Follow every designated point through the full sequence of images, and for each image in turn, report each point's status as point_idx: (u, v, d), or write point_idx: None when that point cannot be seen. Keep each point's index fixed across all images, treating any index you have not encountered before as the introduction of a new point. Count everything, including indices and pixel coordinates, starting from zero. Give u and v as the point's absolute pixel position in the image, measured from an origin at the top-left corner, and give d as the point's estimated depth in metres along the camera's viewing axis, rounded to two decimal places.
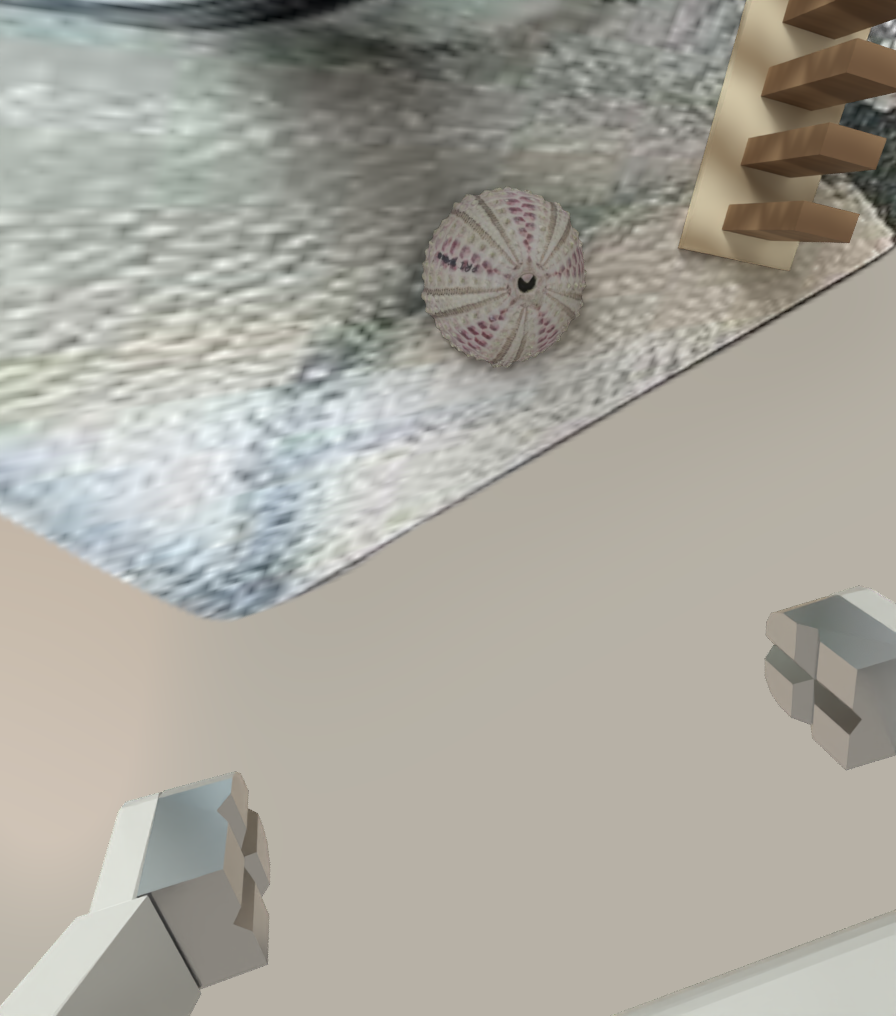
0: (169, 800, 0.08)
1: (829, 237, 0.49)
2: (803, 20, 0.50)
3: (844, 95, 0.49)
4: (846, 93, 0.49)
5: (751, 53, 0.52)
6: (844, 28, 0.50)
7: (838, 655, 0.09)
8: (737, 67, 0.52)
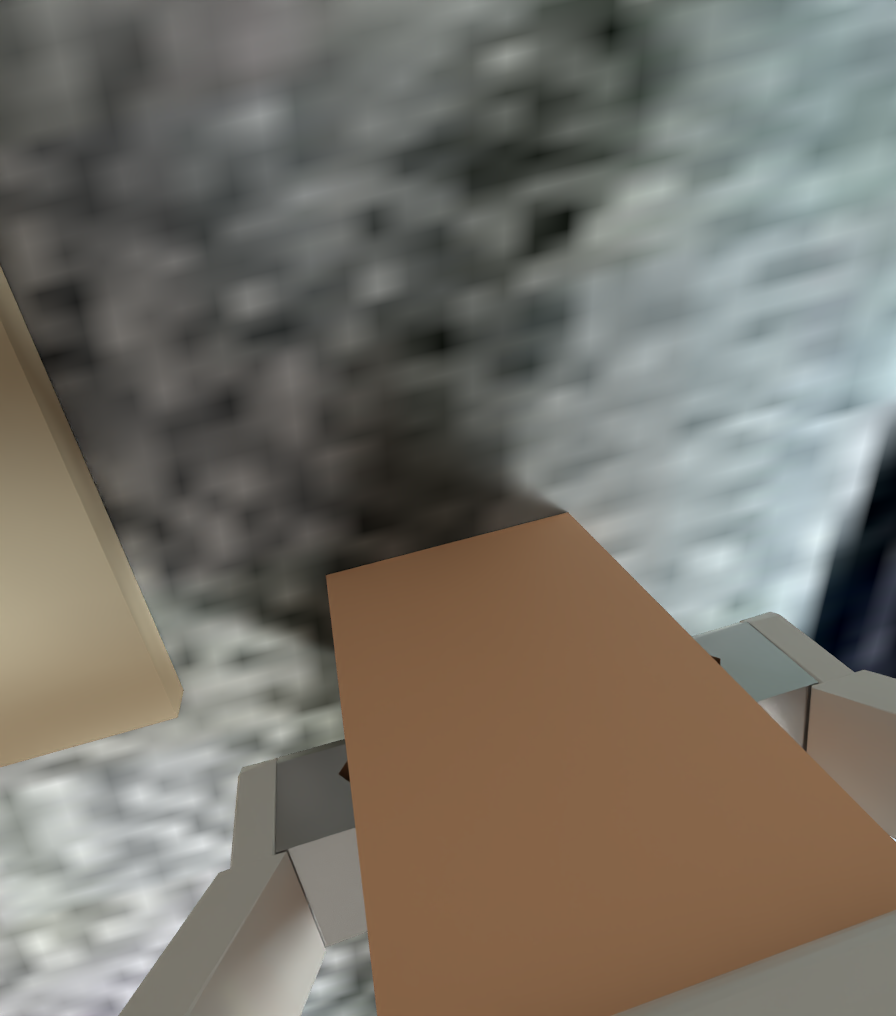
0: (288, 765, 0.09)
1: None
2: None
3: None
4: None
5: None
6: None
7: None
8: None
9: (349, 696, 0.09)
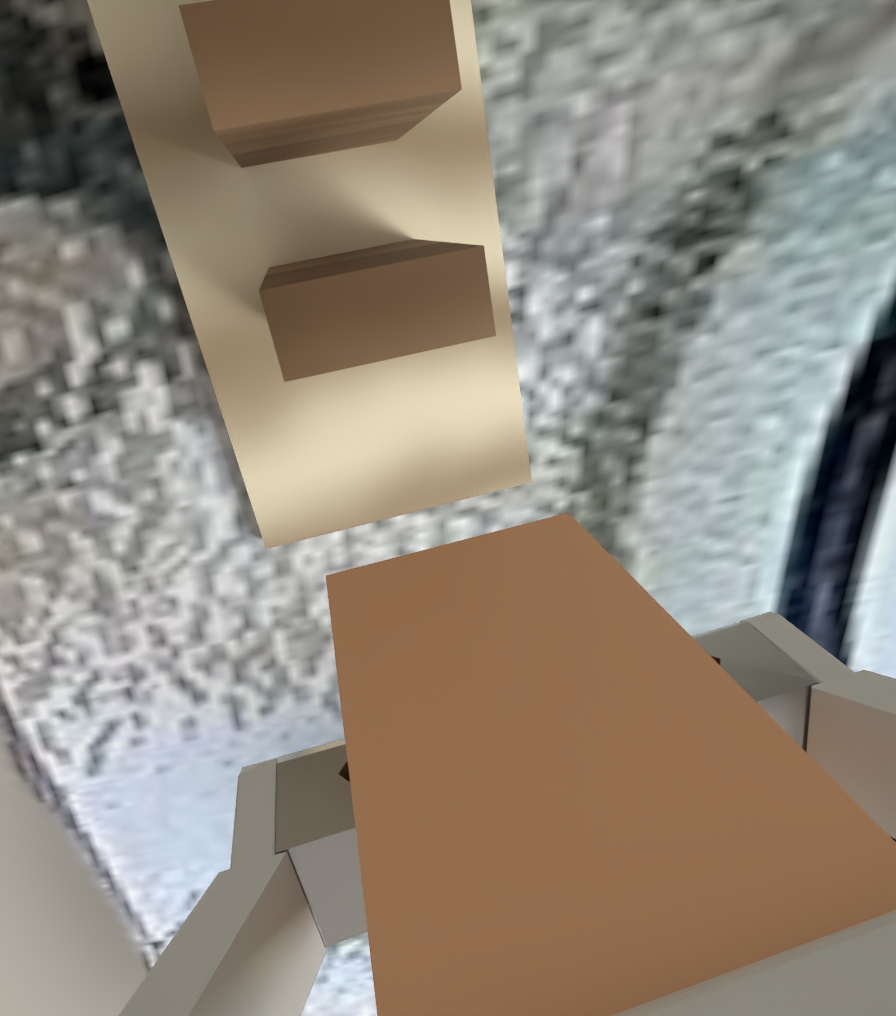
0: (288, 765, 0.09)
1: None
2: (395, 244, 0.21)
3: None
4: None
5: (454, 147, 0.22)
6: (302, 264, 0.20)
7: None
8: (473, 105, 0.22)
9: (349, 697, 0.09)
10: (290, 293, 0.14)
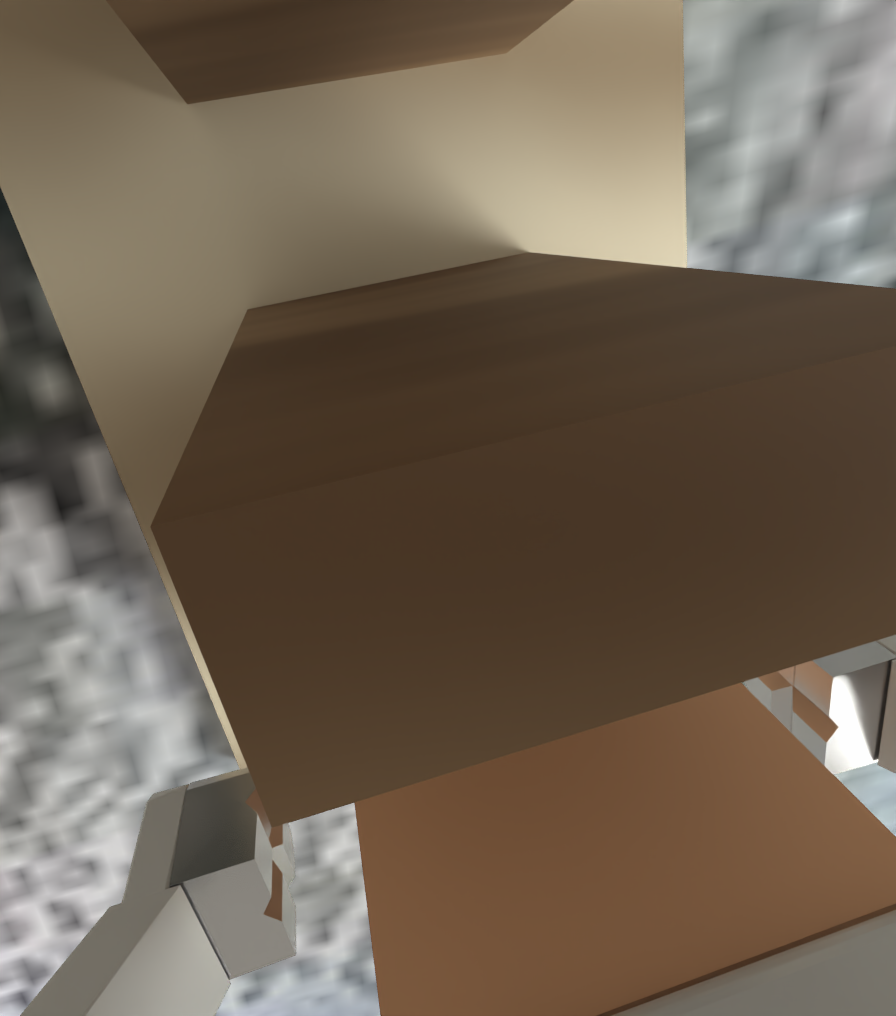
0: (197, 792, 0.08)
1: None
2: (506, 265, 0.10)
3: None
4: None
5: (618, 70, 0.11)
6: (316, 311, 0.09)
7: (815, 662, 0.09)
8: None
9: None
10: (297, 528, 0.03)
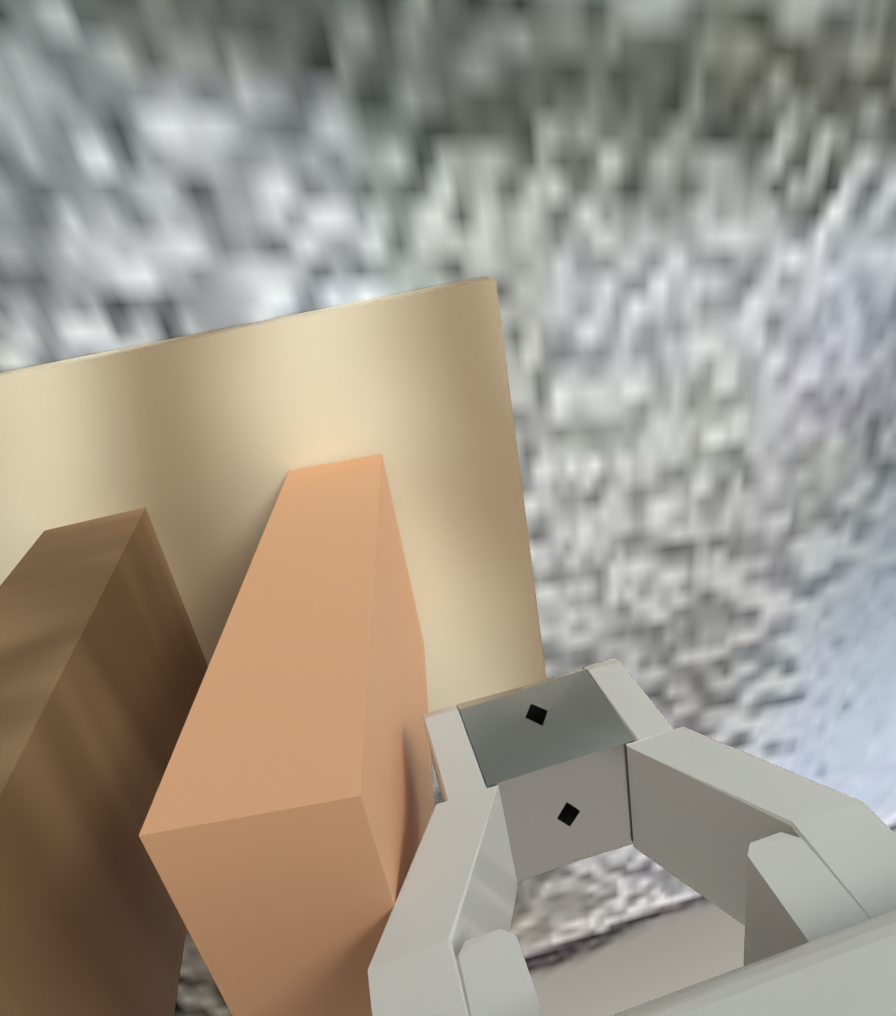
0: (470, 711, 0.09)
1: None
2: None
3: None
4: None
5: None
6: None
7: (554, 743, 0.08)
8: None
9: None
10: None
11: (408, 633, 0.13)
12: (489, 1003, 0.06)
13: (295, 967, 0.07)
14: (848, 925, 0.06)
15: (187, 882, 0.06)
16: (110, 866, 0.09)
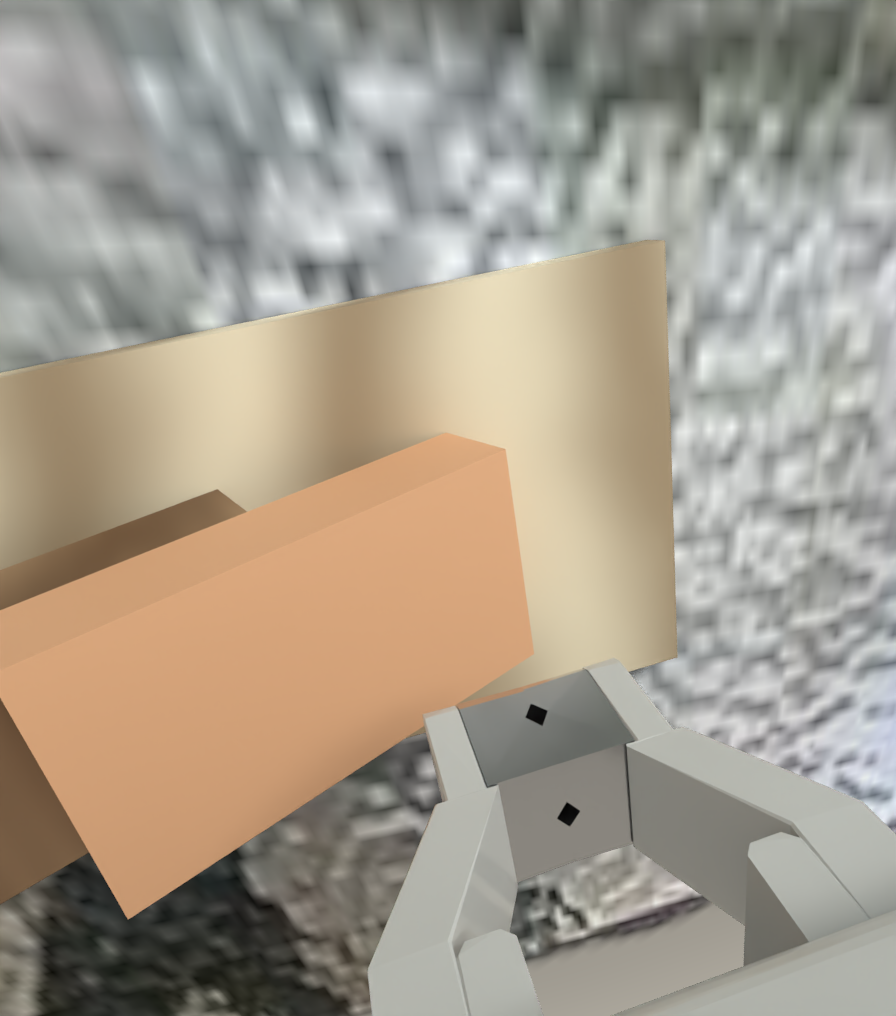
0: (470, 710, 0.09)
1: None
2: None
3: None
4: None
5: (72, 428, 0.13)
6: None
7: (554, 743, 0.08)
8: None
9: None
10: None
11: (421, 627, 0.13)
12: (489, 1003, 0.06)
13: None
14: (848, 925, 0.06)
15: None
16: None
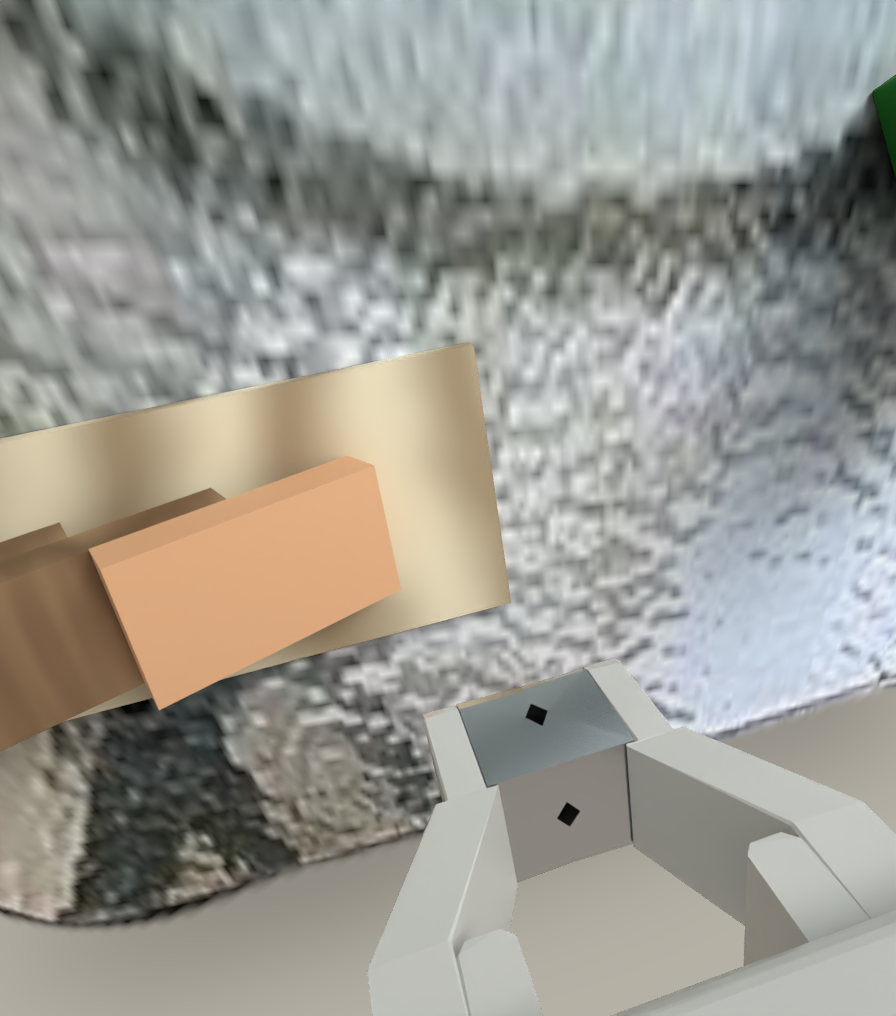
0: (470, 711, 0.09)
1: None
2: None
3: None
4: None
5: (129, 452, 0.23)
6: None
7: (554, 743, 0.08)
8: (86, 436, 0.22)
9: None
10: None
11: (325, 565, 0.23)
12: (489, 1003, 0.06)
13: (119, 619, 0.20)
14: (848, 925, 0.06)
15: (97, 570, 0.20)
16: (34, 650, 0.20)
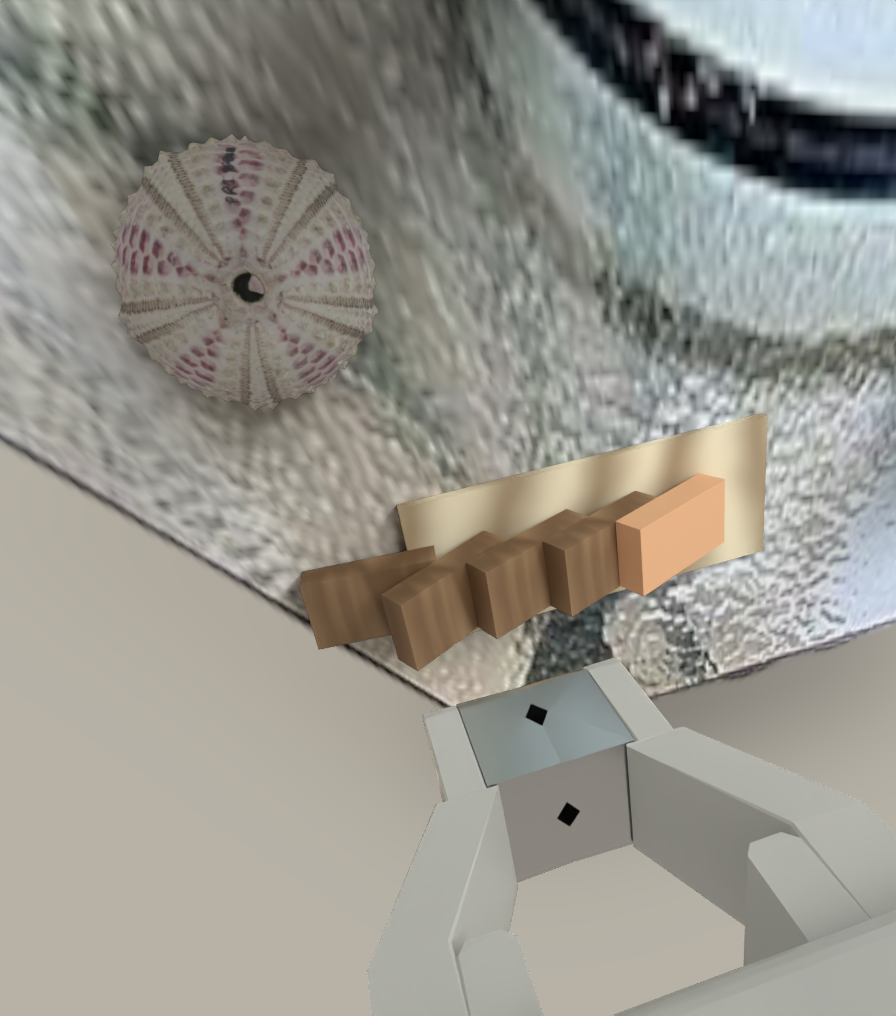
0: (470, 711, 0.09)
1: None
2: None
3: None
4: None
5: (604, 473, 0.46)
6: None
7: (554, 743, 0.08)
8: (588, 466, 0.45)
9: None
10: (551, 598, 0.44)
11: (701, 529, 0.46)
12: (489, 1003, 0.06)
13: (627, 553, 0.44)
14: (848, 925, 0.06)
15: (618, 531, 0.43)
16: (592, 568, 0.43)
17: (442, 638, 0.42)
